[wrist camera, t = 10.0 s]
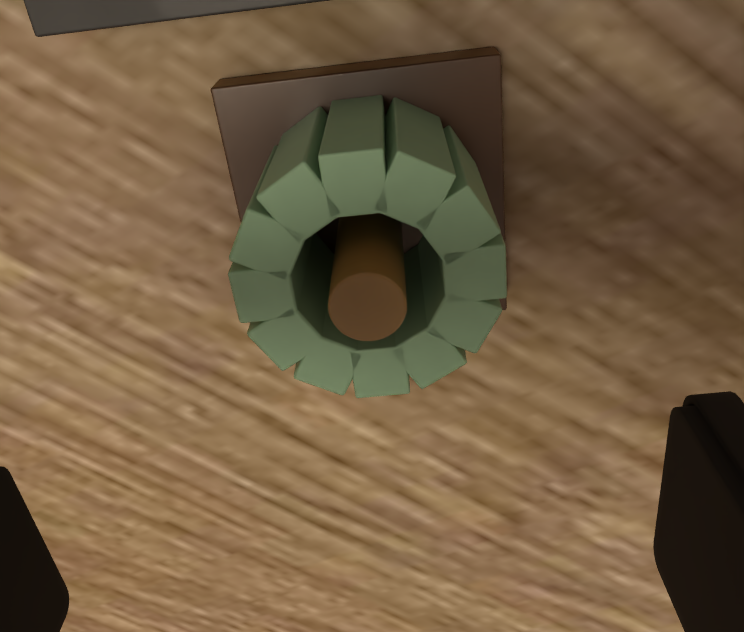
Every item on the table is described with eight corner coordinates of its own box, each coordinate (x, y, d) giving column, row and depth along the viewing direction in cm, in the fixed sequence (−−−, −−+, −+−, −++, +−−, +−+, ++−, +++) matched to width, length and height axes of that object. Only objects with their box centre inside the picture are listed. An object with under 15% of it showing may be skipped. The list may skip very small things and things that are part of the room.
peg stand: (494, 46, 20) (547, 110, 14) (501, 293, 24) (544, 431, 18) (218, 78, 20) (146, 156, 14) (270, 315, 24) (231, 457, 18)
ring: (476, 83, 19) (503, 134, 15) (484, 293, 23) (509, 385, 18) (240, 111, 20) (200, 168, 15) (282, 313, 23) (259, 407, 19)
